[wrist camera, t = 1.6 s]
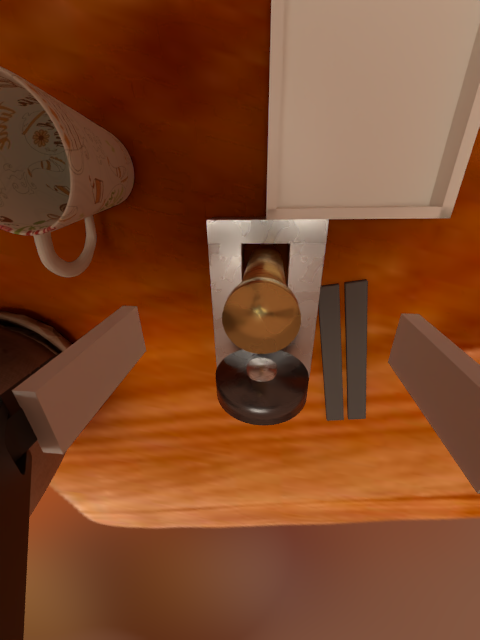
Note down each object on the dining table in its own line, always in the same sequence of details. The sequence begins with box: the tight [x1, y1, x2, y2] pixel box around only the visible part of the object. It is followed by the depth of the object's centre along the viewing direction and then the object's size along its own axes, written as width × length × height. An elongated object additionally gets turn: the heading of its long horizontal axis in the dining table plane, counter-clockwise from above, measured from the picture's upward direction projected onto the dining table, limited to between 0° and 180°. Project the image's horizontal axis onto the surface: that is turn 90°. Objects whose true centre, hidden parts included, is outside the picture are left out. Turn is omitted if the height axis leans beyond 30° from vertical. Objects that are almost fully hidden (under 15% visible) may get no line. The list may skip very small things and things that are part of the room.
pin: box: [222, 244, 301, 354], centre depth 20 cm, size 4×4×13 cm
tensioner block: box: [206, 217, 329, 425], centre depth 22 cm, size 16×10×11 cm, turn 1°
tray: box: [266, 0, 480, 220], centre depth 18 cm, size 16×14×2 cm
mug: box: [0, 67, 134, 277], centre depth 20 cm, size 8×13×10 cm, turn 173°
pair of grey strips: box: [318, 280, 368, 421], centre depth 29 cm, size 18×5×1 cm, turn 11°
